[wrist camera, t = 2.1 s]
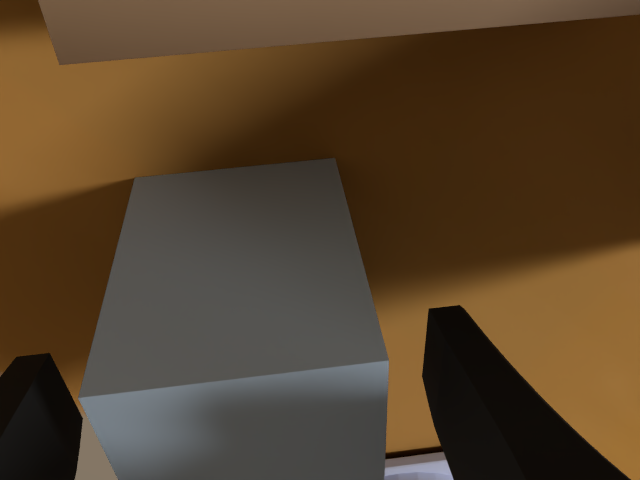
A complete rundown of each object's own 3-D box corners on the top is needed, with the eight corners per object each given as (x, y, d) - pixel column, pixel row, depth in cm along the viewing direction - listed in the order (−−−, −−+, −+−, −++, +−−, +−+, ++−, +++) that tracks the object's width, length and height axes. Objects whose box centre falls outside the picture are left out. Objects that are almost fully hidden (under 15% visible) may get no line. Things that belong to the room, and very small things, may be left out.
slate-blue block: (339, 299, 16) (383, 512, 11) (175, 318, 16) (149, 544, 11) (334, 156, 13) (388, 360, 9) (134, 177, 13) (78, 397, 8)
